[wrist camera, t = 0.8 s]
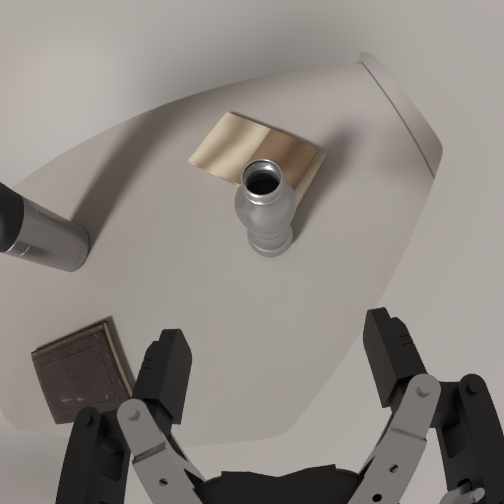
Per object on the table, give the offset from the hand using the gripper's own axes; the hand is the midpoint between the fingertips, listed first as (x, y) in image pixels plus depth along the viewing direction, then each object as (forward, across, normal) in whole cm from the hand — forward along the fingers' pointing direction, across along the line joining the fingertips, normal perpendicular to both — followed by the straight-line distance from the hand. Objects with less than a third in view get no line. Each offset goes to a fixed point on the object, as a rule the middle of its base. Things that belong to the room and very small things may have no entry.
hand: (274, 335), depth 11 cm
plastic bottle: (+29, 0, +12) cm, 32 cm away
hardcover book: (+14, +38, +28) cm, 49 cm away
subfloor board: (+39, +1, +1) cm, 39 cm away
